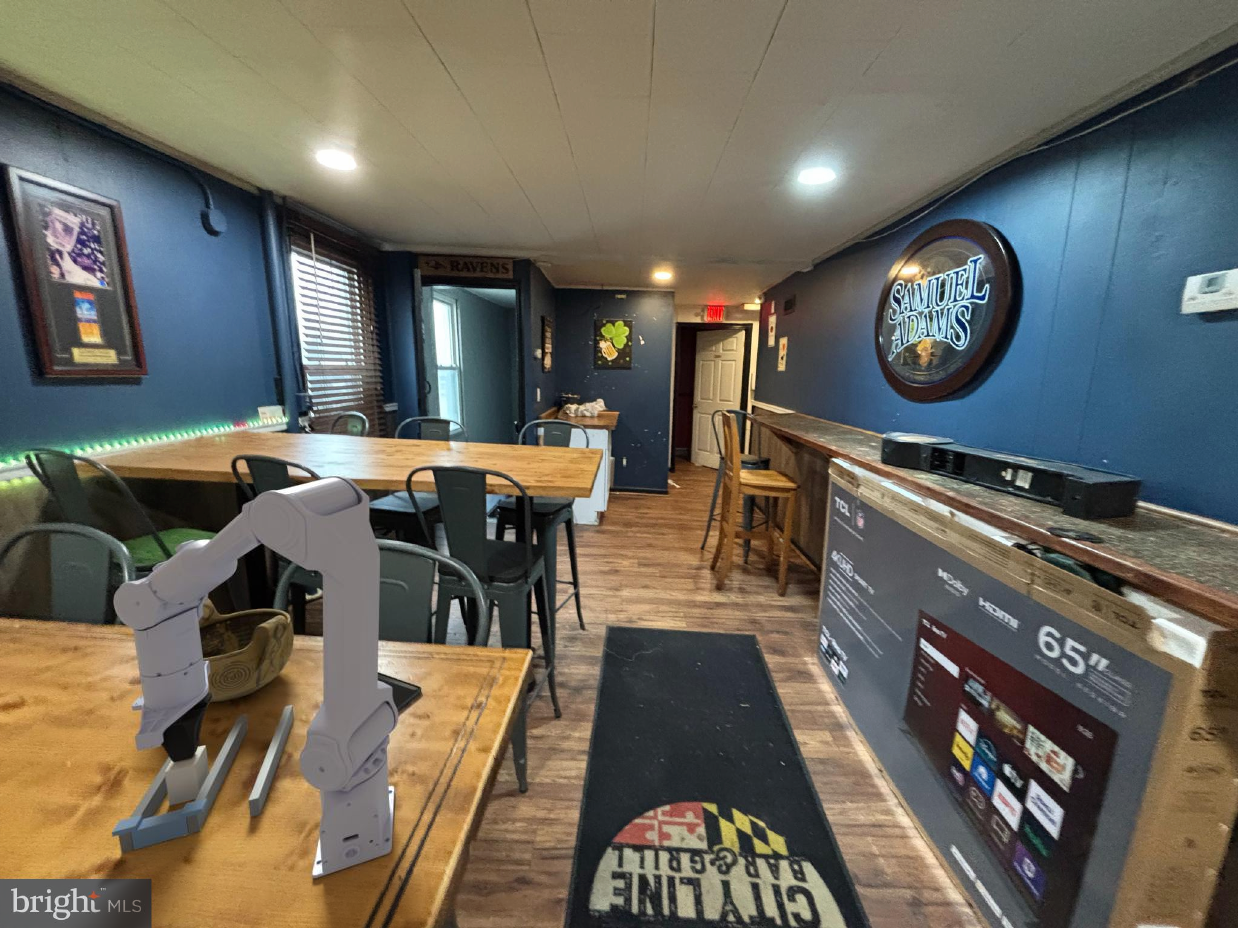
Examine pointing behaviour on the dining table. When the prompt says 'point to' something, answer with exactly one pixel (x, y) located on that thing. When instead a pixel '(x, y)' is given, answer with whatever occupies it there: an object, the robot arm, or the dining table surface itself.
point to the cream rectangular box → (187, 777)
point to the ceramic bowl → (244, 649)
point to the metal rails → (190, 819)
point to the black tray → (401, 691)
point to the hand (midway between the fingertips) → (184, 756)
